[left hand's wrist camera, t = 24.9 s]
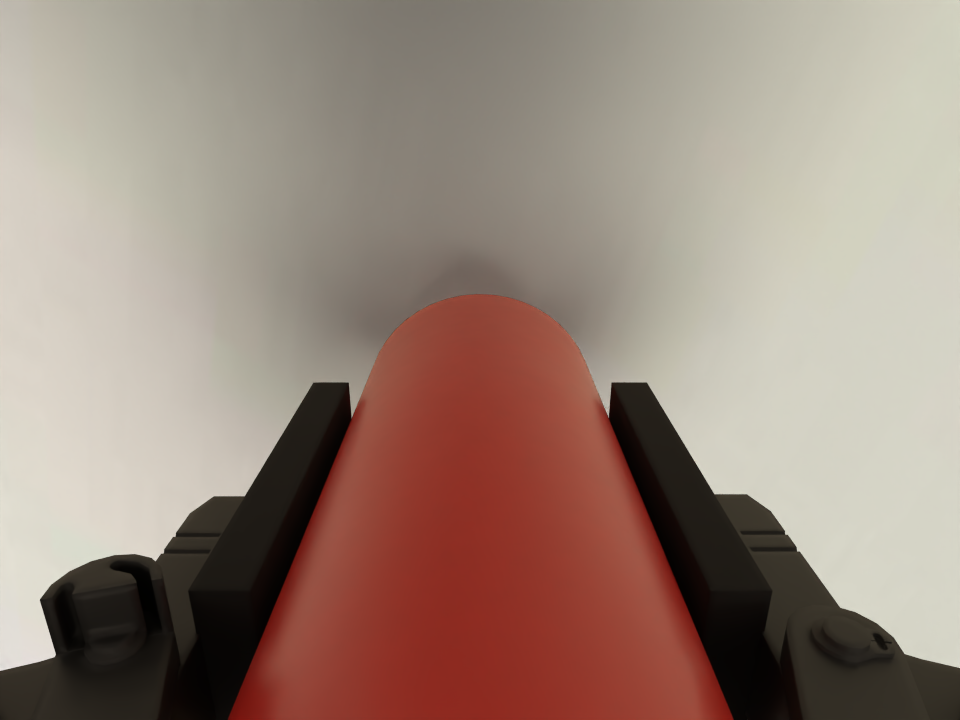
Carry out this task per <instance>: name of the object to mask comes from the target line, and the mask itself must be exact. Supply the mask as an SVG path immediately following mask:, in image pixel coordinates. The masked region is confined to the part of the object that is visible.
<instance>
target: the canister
mask: <svg viewBox="0 0 960 720" xmlns="http://www.w3.org/2000/svg"><path fill="white" fill-rule="evenodd" d="M228 720H734V719H733V717H732V714H731V712H730V709H729V707H728V704H727V702H726V700H725V697H724V695H723V692H722V690H721V688H720V685H719V683H718V680H717V678H716V676H715V673H714V671H713V668H712V666H711V664H710V661H709V659H708V656H707V654H706V651H705V649H704V647H703V644H702V642H701V639H700V637H699V635H698V632H697V630H696V627H695V625H694V623H693V620H692V618H691V615H690V613H689V610H688V608H687V606H686V603H685V601H684V598H683V596H682V594H681V591H680V589H679V586H678V584H677V582H676V579H675V577H674V574H673V572H672V570H671V567H670V565H669V562H668V560H667V557H666V555H665V553H664V550H663V548H662V545H661V543H660V541H659V538H658V536H657V533H656V531H655V529H654V526H653V524H652V521H651V519H650V516H649V514H648V512H647V509H646V507H645V504H644V502H643V500H642V497H641V495H640V492H639V490H638V488H637V485H636V483H635V480H634V478H633V475H632V473H631V471H630V468H629V466H628V463H627V461H626V459H625V456H624V454H623V451H622V449H621V447H620V444H619V442H618V439H617V437H616V435H615V432H614V430H613V427H612V425H611V422H610V420H609V418H608V415H607V413H606V410H605V408H604V406H603V403H602V401H601V398H600V396H599V394H598V391H597V389H596V386H595V384H594V381H593V379H592V377H591V374H590V372H589V369H588V367H587V365H586V362H585V360H584V358H583V356H582V354H581V352H580V350H579V348H578V346H577V345H576V343H575V342H574V341H573V339H572V338H571V336H570V335H569V334H568V333H567V332H566V331H565V330H564V329H563V327H562V326H561V325H560V324H558V323H557V322H556V321H555V320H553V319H552V318H551V317H550V316H548V315H547V314H545V313H544V312H542V311H540V310H539V309H537V308H535V307H533V306H531V305H529V304H526V303H524V302H522V301H518V300H515V299H512V298H508V297H503V296H497V295H484V294H474V295H463V296H458V297H453V298H448V299H445V300H442V301H439V302H437V303H434V304H431V305H429V306H427V307H425V308H424V309H422V310H420V311H418V312H417V313H415V314H414V315H412V316H411V317H409V318H408V319H406V320H405V321H404V322H403V323H402V324H401V325H400V326H399V327H398V328H397V329H396V330H395V331H394V332H393V333H392V334H391V336H390V337H389V338H388V339H387V341H386V342H385V344H384V345H383V347H382V349H381V350H380V352H379V354H378V356H377V359H376V361H375V363H374V366H373V368H372V371H371V373H370V375H369V378H368V380H367V383H366V385H365V388H364V390H363V392H362V395H361V397H360V400H359V402H358V404H357V407H356V409H355V412H354V414H353V417H352V419H351V421H350V424H349V426H348V429H347V431H346V434H345V436H344V438H343V441H342V443H341V446H340V448H339V451H338V453H337V455H336V458H335V460H334V463H333V465H332V468H331V470H330V472H329V475H328V477H327V480H326V482H325V485H324V487H323V489H322V492H321V494H320V497H319V499H318V502H317V504H316V506H315V509H314V511H313V514H312V516H311V519H310V521H309V523H308V526H307V528H306V531H305V533H304V536H303V538H302V540H301V543H300V545H299V548H298V550H297V553H296V555H295V557H294V560H293V562H292V565H291V567H290V569H289V572H288V574H287V577H286V579H285V582H284V584H283V586H282V589H281V591H280V594H279V596H278V599H277V601H276V603H275V606H274V608H273V611H272V613H271V616H270V618H269V620H268V623H267V625H266V628H265V630H264V633H263V635H262V637H261V640H260V642H259V645H258V647H257V650H256V652H255V654H254V657H253V659H252V662H251V664H250V667H249V669H248V671H247V674H246V676H245V679H244V681H243V684H242V686H241V688H240V691H239V693H238V696H237V698H236V701H235V703H234V705H233V708H232V710H231V713H230V715H229V718H228Z"/></svg>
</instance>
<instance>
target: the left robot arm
mask: <svg viewBox="0 0 960 720" xmlns="http://www.w3.org/2000/svg"><path fill="white" fill-rule="evenodd" d="M609 420H610V422H611V425H612V427H613V430H614V432H615V435H616V437H617V439H618V442H619V444H620V447H621V449H622V451H623V454H624V456H625V459H626V461H627V463H628V466H629V468H630V471H631V473H632V475H633V478H634V480H635V483H636V485H637V488H638V490H639V492H640V495H641V497H642V500H643V502H644V504H645V507H646V509H647V512H648V514H649V516H650V519H651V521H652V524H653V526H654V529H655V531H656V533H657V536H658V538H659V541H660V543H661V545H662V548H663V550H664V553H665V555H666V557H667V560H668V562H669V565H670V567H671V570H672V572H673V574H674V577H675V579H676V582H677V584H678V586H679V589H680V591H681V594H682V596H683V598H684V601H685V603H686V606H687V608H688V610H689V613H690V615H691V618H692V620H693V623H694V625H695V627H696V630H697V632H698V635H699V637H700V639H701V642H702V644H703V647H704V649H705V651H706V654H707V656H708V659H709V661H710V664H711V666H712V668H713V671H714V673H715V676H716V678H717V680H718V683H719V685H720V688H721V690H722V692H723V695H724V697H725V700H726V702H727V704H728V707H729V709H730V712H731V714H732V717H733V719H734V720H960V668H957V667H952V666H948V665H944V664H940V663H935V662H931V661H927V660H922V659H919V658H915V657H912V656H909V655H906V654H904V653H903V651H902V650H901V648H900V647H899V645H898V644H897V642H896V641H895V639H894V638H893V637H892V636H891V635H890V634H889V633H887V632H886V631H885V630H884V629H883V628H881V627H880V626H879V625H878V624H877V623H875V622H873V621H871V620H869V619H867V618H865V617H863V616H861V615H860V614H858V613H856V612H852V611H849V610H846V609H842V608H840V607H839V606H838V604H837V603H836V601H835V600H834V599H833V597H832V596H831V594H830V593H829V592H828V590H827V589H826V587H825V586H824V585H823V583H822V582H821V581H820V579H819V578H818V576H817V575H816V574H815V572H814V571H813V569H812V568H811V567H810V565H809V564H808V562H807V561H806V560H805V558H804V557H803V556H802V554H801V553H800V552H797V547H796V546H795V544H794V543H793V542H792V540H791V539H790V537H789V536H788V535H785V530H784V529H783V528H782V526H781V525H780V524H779V522H778V521H777V519H776V518H775V517H774V515H773V514H772V512H771V511H770V510H768V509H767V508H765V507H764V506H762V505H761V504H760V503H758V502H757V501H755V500H754V499H753V498H751V497H750V496H748V495H747V494H714V493H713V491H712V490H711V488H710V486H709V485H708V483H707V481H706V480H705V478H704V476H703V475H702V473H701V471H700V470H699V468H698V466H697V465H696V463H695V462H694V460H693V458H692V457H691V455H690V453H689V452H688V450H687V448H686V447H685V445H684V443H683V442H682V440H681V438H680V437H679V435H678V433H677V432H676V430H675V428H674V427H673V425H672V424H671V422H670V420H669V419H668V417H667V415H666V414H665V412H664V410H663V409H662V407H661V405H660V404H659V402H658V400H657V399H656V397H655V395H654V394H653V392H652V390H651V389H650V387H649V385H648V384H647V383H612V385H611V398H610V411H609ZM350 421H351V406H350V393H349V383H313V384H312V386H311V388H310V389H309V391H308V393H307V394H306V396H305V398H304V399H303V401H302V403H301V404H300V406H299V408H298V409H297V411H296V413H295V414H294V416H293V418H292V419H291V421H290V423H289V424H288V426H287V427H286V429H285V431H284V432H283V434H282V436H281V437H280V439H279V441H278V442H277V444H276V446H275V447H274V449H273V451H272V452H271V454H270V456H269V457H268V459H267V461H266V462H265V464H264V466H263V467H262V469H261V471H260V472H259V474H258V475H257V477H256V479H255V480H254V482H253V484H252V485H251V487H250V489H249V490H248V492H247V494H246V495H245V496H214V497H213V498H211V499H210V500H208V501H207V502H205V503H204V504H203V505H201V506H200V507H198V508H197V509H196V510H194V511H193V512H191V513H190V514H189V516H188V517H187V518H186V520H185V521H184V523H183V524H182V525H181V527H180V528H179V530H178V531H177V532H176V537H173V538H172V539H171V541H170V542H169V544H168V545H167V546H166V548H165V549H164V554H161V555H160V556H159V558H158V559H157V560H156V562H155V561H154V560H153V559H152V558H149V557H145V556H140V555H136V554H130V555H114V556H110V557H106V558H102V559H99V560H95V561H91V562H89V563H87V564H85V565H82V566H80V567H78V568H76V569H74V570H72V571H70V572H68V573H67V574H65V575H64V576H63V577H61V578H60V579H59V580H57V581H56V582H55V583H53V584H52V585H51V586H50V587H49V589H48V590H47V591H46V592H45V594H44V595H43V596H42V598H41V599H40V602H41V605H42V609H43V612H44V615H45V619H46V622H47V625H48V629H49V632H50V636H51V639H52V642H53V646H54V649H55V652H56V656H55V657H54V658H51V659H48V660H44V661H41V662H37V663H33V664H28V665H24V666H20V667H16V668H11V669H7V670H3V671H0V720H228V718H229V715H230V713H231V710H232V708H233V705H234V703H235V701H236V698H237V696H238V693H239V691H240V688H241V686H242V684H243V681H244V679H245V676H246V674H247V671H248V669H249V667H250V664H251V662H252V659H253V657H254V654H255V652H256V650H257V647H258V645H259V642H260V640H261V637H262V635H263V633H264V630H265V628H266V625H267V623H268V620H269V618H270V616H271V613H272V611H273V608H274V606H275V603H276V601H277V599H278V596H279V594H280V591H281V589H282V586H283V584H284V582H285V579H286V577H287V574H288V572H289V569H290V567H291V565H292V562H293V560H294V557H295V555H296V553H297V550H298V548H299V545H300V543H301V540H302V538H303V536H304V533H305V531H306V528H307V526H308V523H309V521H310V519H311V516H312V514H313V511H314V509H315V506H316V504H317V502H318V499H319V497H320V494H321V492H322V489H323V487H324V485H325V482H326V480H327V477H328V475H329V472H330V470H331V468H332V465H333V463H334V460H335V458H336V455H337V453H338V451H339V448H340V446H341V443H342V441H343V438H344V436H345V434H346V431H347V429H348V426H349V424H350Z"/></svg>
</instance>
